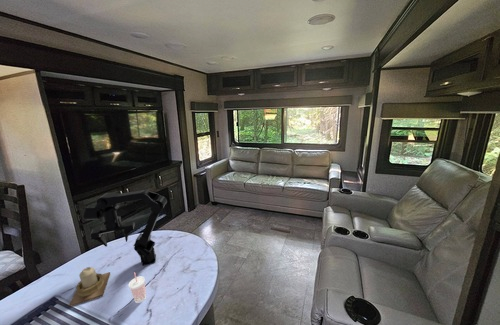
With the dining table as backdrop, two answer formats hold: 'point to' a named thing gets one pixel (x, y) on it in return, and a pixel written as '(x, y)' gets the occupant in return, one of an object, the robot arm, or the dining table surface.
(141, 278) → the beverage cup
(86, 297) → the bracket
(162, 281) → the dining table surface
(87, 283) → the candle
